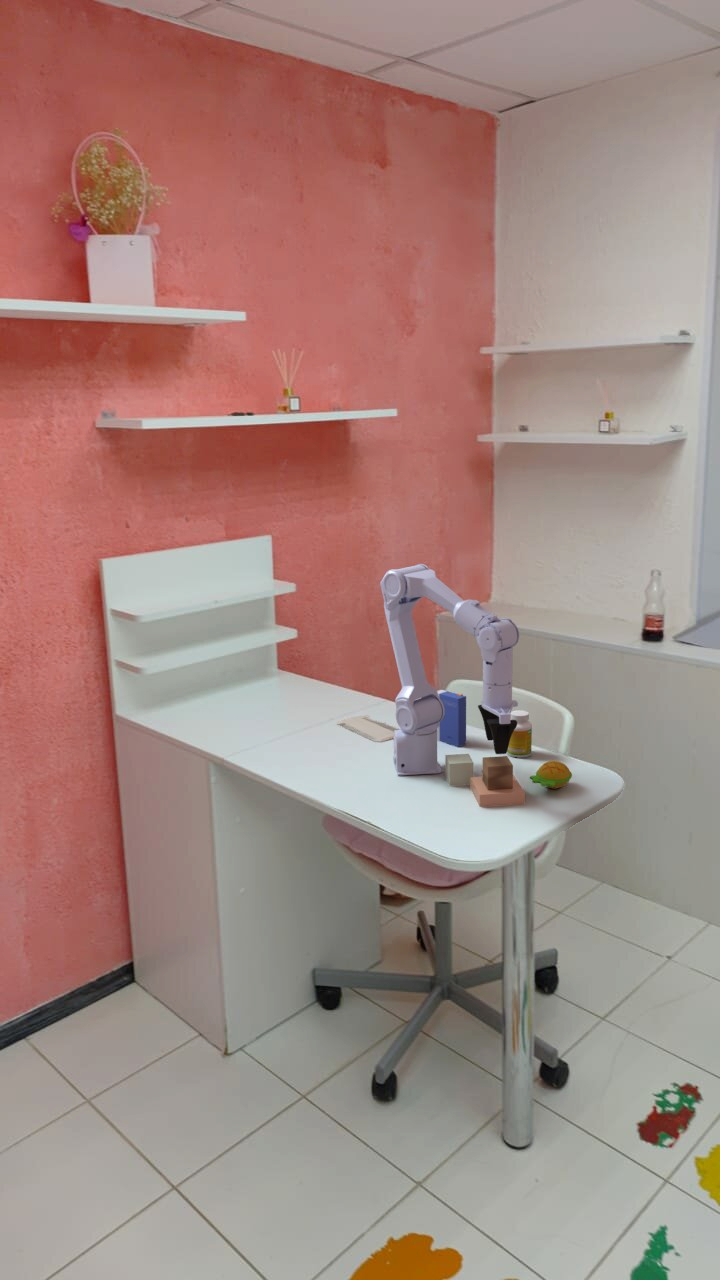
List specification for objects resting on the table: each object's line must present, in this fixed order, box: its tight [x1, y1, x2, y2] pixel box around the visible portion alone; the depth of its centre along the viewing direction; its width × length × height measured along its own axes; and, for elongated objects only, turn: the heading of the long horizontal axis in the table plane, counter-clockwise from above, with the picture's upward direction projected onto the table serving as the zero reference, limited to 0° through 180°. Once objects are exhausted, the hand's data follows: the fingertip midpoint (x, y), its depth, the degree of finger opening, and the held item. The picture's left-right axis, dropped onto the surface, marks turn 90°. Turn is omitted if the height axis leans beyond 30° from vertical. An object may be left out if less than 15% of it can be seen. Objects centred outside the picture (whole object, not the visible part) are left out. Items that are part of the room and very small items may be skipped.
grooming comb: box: [336, 714, 401, 743], centre depth 235 cm, size 18×10×1 cm, turn 36°
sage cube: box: [444, 753, 474, 787], centre depth 202 cm, size 5×5×5 cm
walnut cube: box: [481, 755, 514, 790], centre depth 193 cm, size 5×5×5 cm
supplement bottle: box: [506, 709, 533, 759], centre depth 215 cm, size 5×5×10 cm
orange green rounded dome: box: [529, 760, 573, 789], centre depth 196 cm, size 7×10×5 cm
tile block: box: [469, 774, 526, 808], centre depth 194 cm, size 9×9×3 cm
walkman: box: [437, 689, 467, 748], centre depth 223 cm, size 8×3×12 cm, turn 43°
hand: (496, 746), depth 192 cm, fingers open, 7 cm apart
